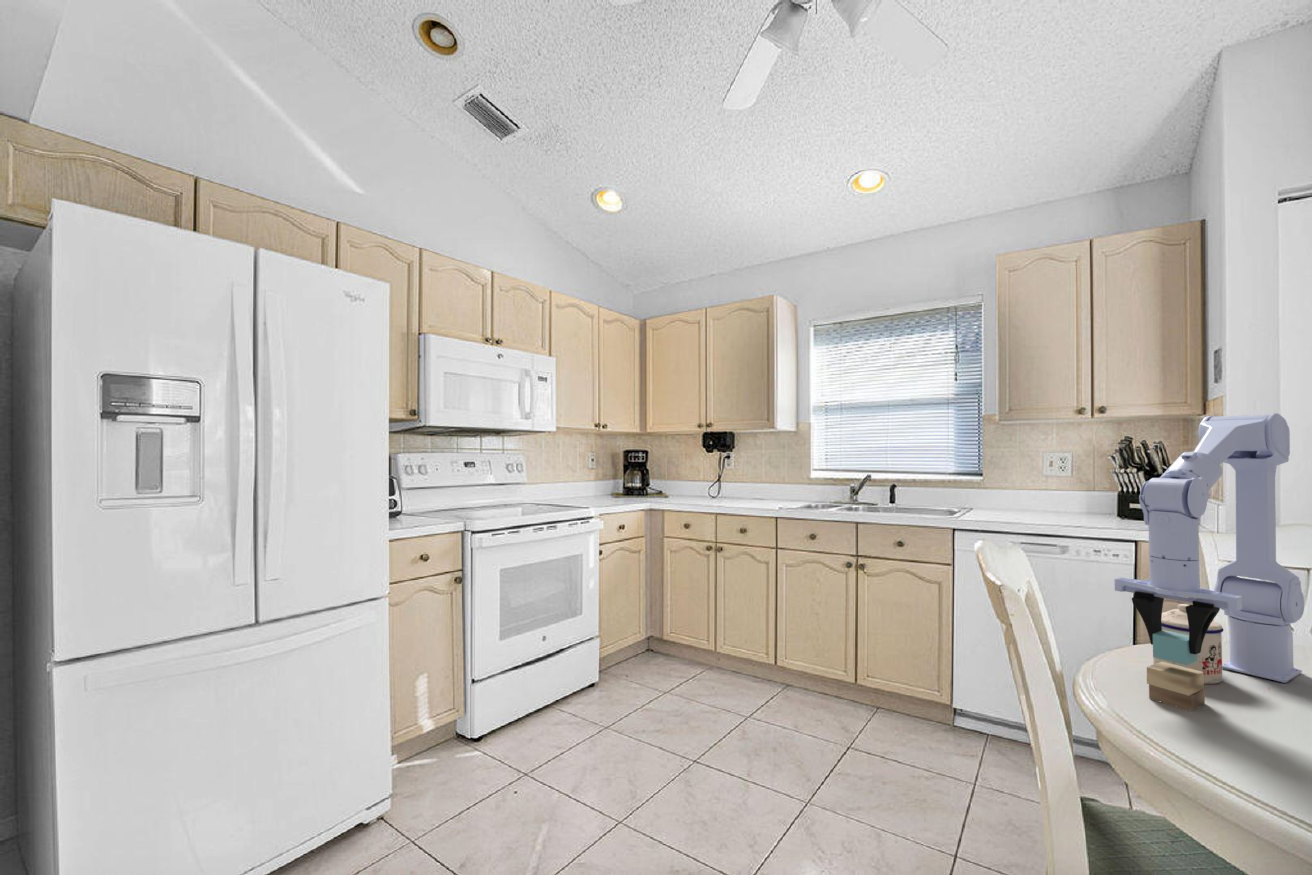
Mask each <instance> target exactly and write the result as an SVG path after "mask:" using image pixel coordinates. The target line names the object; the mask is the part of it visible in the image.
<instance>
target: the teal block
mask: <svg viewBox="0 0 1312 875" xmlns="http://www.w3.org/2000/svg"><path fill="white" fill-rule="evenodd" d="M1153 657H1154V658H1158V659H1162V660H1167V661H1171V662H1175V663H1179V664H1183V665H1189V664H1191V663H1193V662H1196V661H1198V660H1197V654H1191V653H1190V651H1189V635H1185V634H1180V633H1176V632H1171V631H1166V630H1162V631H1159V632H1157V633H1154V634H1153V645H1152V658H1153Z"/></svg>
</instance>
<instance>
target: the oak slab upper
mask: <svg viewBox="0 0 1312 875" xmlns="http://www.w3.org/2000/svg"><path fill="white" fill-rule="evenodd" d="M1146 684H1147V685H1149V684H1150V685H1153V686H1157V687H1160V688H1164V689H1167V690H1171V691H1174V692H1178V693H1181V694H1185V695H1188V696H1189V695H1191V694H1194V693H1196V692H1198V691H1200V690H1203V689H1204V690H1205V687H1204V686H1205V684H1204V676H1203V672H1201V671H1197V670H1193V669H1189V668H1185V667H1182V666H1178V665H1174V664H1170V663H1166V662H1159V663H1157V664H1154V665H1153V664H1151V665H1149V666H1146Z"/></svg>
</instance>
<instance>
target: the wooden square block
mask: <svg viewBox="0 0 1312 875" xmlns="http://www.w3.org/2000/svg"><path fill="white" fill-rule="evenodd" d="M1205 695H1206V694H1205V688H1204V689H1203V690H1200V691H1198V692H1196V693H1194V694H1191V695H1189V696H1188V695H1185V694H1181V693H1178V692H1174V691H1171V690H1167V689H1164V688H1160V687H1157V686H1153V685H1150V684H1148V698H1151V699H1154V700H1153V701H1155V700H1156V701H1155V702H1158V701H1161V702H1164V703H1163V704H1165V703H1166V704H1165V705H1168V704H1169V706H1172V707H1175V706H1177V707H1176V708H1179V709H1182V710H1186V711H1189V710H1191V711H1190V712H1194V711H1195V710H1197V709H1199V708H1201V707H1202V706H1203V705H1205V704H1206V703H1205V702H1206V701H1205V700H1206V699H1205V698H1206V697H1205ZM1151 699H1150V700H1151ZM1161 702H1160V703H1161ZM1198 707H1199V708H1198ZM1193 710H1194V711H1193Z"/></svg>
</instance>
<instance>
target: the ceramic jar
mask: <svg viewBox="0 0 1312 875" xmlns="http://www.w3.org/2000/svg"><path fill="white" fill-rule="evenodd" d="M1188 605H1189V604H1187V603H1179V604H1177V608H1173V609H1171V610H1167V611H1165V612H1162V618H1161V624H1162V630H1166V631H1171V632H1176V633H1180V634H1185V635H1189V625H1188V618H1187V613H1186V606H1188ZM1223 632H1224V628H1223V625H1222V624H1221V623H1219V622H1218V621H1216V620H1214V619H1213V621H1212V622H1211V624H1210V626H1209V628H1208V630H1207V632H1206V634H1205V637H1204V640H1203V643H1202V647H1201V652H1200V653H1198V654H1197V660H1198V661H1196V662H1193V663H1191V664H1189V665H1183V664H1179V663H1175V662H1171V661H1167V660H1162V659H1158V658H1154V657H1153V656H1152V658H1153V660H1152V661H1153V662H1152V663H1153V664H1152V665H1154V664H1157V663H1159V662H1166V663H1170V664H1174V665H1178V666H1182V667H1185V668H1189V669H1193V670H1197V671H1201V672H1203V676H1204V685H1205V684H1206V685H1207V684H1210V685H1211V684H1212V685H1215V684H1218V683H1221V682H1222V681H1223V668H1222V664H1223V642H1222V638H1223V637H1222V633H1223Z"/></svg>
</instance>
